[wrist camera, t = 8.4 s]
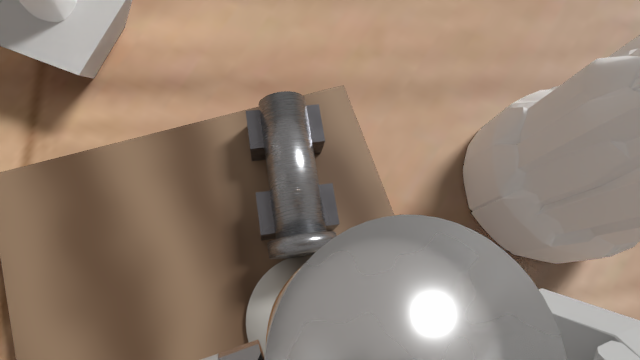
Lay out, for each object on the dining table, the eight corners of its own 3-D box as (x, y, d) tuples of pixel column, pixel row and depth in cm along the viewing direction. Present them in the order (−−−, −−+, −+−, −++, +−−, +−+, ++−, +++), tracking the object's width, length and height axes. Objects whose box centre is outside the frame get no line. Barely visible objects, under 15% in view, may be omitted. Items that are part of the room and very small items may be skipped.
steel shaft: (337, 251, 25) (350, 242, 21) (263, 262, 24) (263, 255, 20) (314, 115, 27) (321, 84, 23) (246, 121, 26) (243, 90, 22)
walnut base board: (85, 704, 19) (69, 738, 17) (0, 181, 25) (-16, 174, 23) (495, 494, 23) (510, 507, 22) (340, 93, 29) (344, 82, 28)
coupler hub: (292, 429, 14) (326, 635, 5) (250, 285, 15) (222, 268, 7) (423, 373, 15) (627, 473, 6) (374, 242, 16) (491, 178, 8)
